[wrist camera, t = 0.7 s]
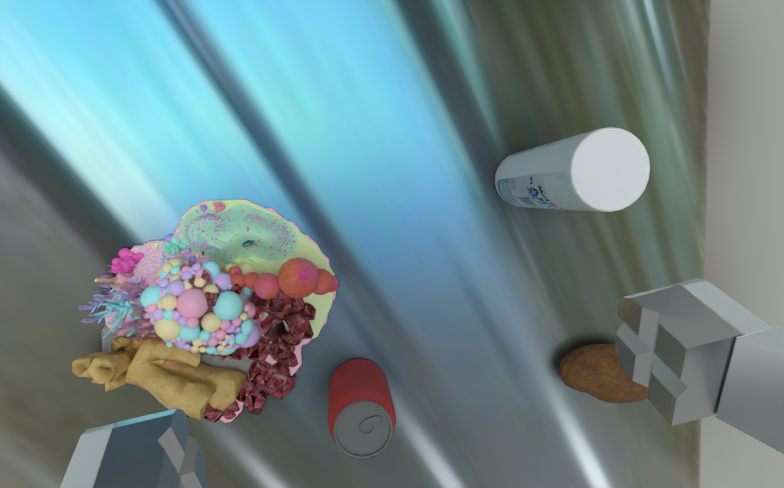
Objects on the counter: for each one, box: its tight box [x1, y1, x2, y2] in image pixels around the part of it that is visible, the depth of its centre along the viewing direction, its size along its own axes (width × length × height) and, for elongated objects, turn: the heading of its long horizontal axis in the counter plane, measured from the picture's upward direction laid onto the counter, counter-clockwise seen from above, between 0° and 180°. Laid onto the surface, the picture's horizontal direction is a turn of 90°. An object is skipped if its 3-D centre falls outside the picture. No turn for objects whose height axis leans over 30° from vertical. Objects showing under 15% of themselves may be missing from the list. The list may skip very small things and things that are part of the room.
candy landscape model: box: [72, 200, 339, 422], centre depth 53 cm, size 25×24×9 cm
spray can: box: [495, 127, 650, 212], centre depth 50 cm, size 6×6×20 cm
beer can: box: [328, 359, 396, 459], centre depth 54 cm, size 7×7×12 cm
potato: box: [559, 344, 648, 403], centre depth 59 cm, size 7×12×7 cm, turn 84°
